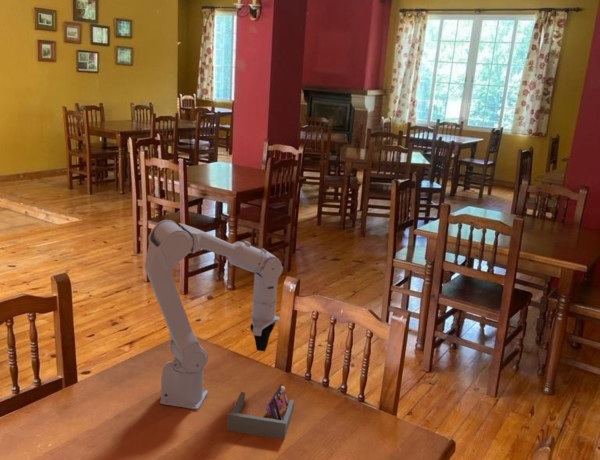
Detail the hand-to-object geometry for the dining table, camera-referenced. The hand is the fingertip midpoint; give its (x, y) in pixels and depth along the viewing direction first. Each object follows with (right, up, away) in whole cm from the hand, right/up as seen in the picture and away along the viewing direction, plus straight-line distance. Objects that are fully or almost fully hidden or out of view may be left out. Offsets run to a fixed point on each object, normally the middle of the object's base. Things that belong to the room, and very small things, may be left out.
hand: (261, 349), depth 145 cm
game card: (+4, -14, -11) cm, 18 cm away
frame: (+1, -13, -12) cm, 18 cm away
